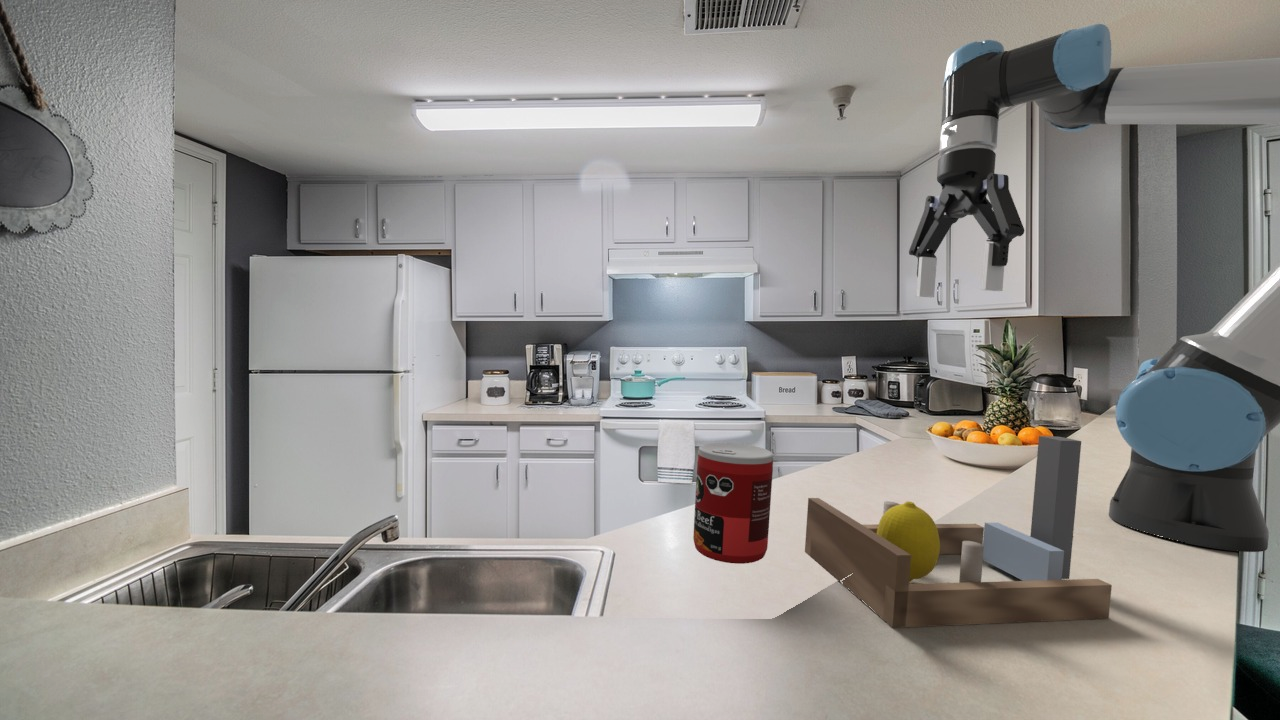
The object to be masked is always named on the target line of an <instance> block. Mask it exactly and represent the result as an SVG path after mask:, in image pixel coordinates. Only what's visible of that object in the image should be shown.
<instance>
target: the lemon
mask: <svg viewBox="0 0 1280 720" xmlns="http://www.w3.org/2000/svg"><path fill="white" fill-rule="evenodd" d="M899 504H900V503H899ZM878 524H879V525H878V529H877V534H878V535H879V536H881V537H883V538H884V539H886V540H887V541H889V542H891V543H892V544H894V545H895V546H897V547H899V548H900V549H902V550H904V551H905V552H907V553H908V554H910V555H911V562H910V576H909V583H910V582H911V581H913V580H918V579H922V578H924V577H926V576H928V575H929V574H930V573H932V571H933V570H934V569H935V567H936V566H937V563H938V561H939V556H940V554H939V552H940V540H939V534H938V530H937V527H936V525H935V524H936V523H935V521H934V519H933V518H932V516H930V514H929V513H928V512H926V510H924V509H923V508H920V507H919V506H916V504H915V503H914V502H912V501H909V500H907V501H905V502H904V503H902V504H900V505H896V506H894V507H892V508H890V509H888V510H887V511H886V512H885V513H884V514H883V513H882V516H881V518H880V520H879V522H878Z"/></svg>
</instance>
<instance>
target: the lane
mask: <svg viewBox="0 0 1280 720" xmlns="http://www.w3.org/2000/svg"><path fill="white" fill-rule="evenodd" d="M896 505H900V503H899V502H895V501H888V500H887V501H884V502H883V510H882V511H883V513H882V515H883V514H884V513H885V512H886V511H887V510H888V509H890V508H892V507H894V506H896ZM806 512H807V513H806V528H805V545H804V553H805V554H806V555H808V556H809V557H810V558H811V559H812V560H814V562H816V563H817V564H818V565H819V566H820V567H822V568H823V570H825V571H826V572H828V574H829V575H831V576H832V577H833V578H834V579H835V580H837V581H838V582H839V581H840V580H842V579H843V578H845V577H847V576H848V575H850V574H852V573H853V574H852V575H851V576H849V577H847V578H845V580H843V581H842V582H843V585H842V586H843V587H845V586H846V587H847V588H849V589H850V590H851V591H852V592H853V593H854V594H855V595H856V596H858V597H859V598H860V599H861V600H863V601H864V602H865V603H866V604H867V605H868V606H870V607H871V608H872V609H873V610H874V611H875V612H876V613H877V614H878V615H879V616H881V617H880V619H882V618H883V619H882V621H884V622H885V621H886V622H887V623H888V624H887V623H886V622H885V623H886V624H887V625H888V626H890V628H894V629H895V627H896V628H913V627H914V628H915V627H916V628H917V627H939V626H940V627H942V626H964V625H967V626H968V625H983V624H984V625H987V624H1009V623H1010V622H1012V623H1030V622H1031V623H1033V622H1034V623H1035V622H1036V623H1037V622H1057V621H1058V622H1059V621H1077V620H1079V621H1081V620H1084V621H1085V620H1100V619H1101V620H1103V619H1105V620H1106V619H1109V617H1110V609H1111V608H1110V607H1111V597H1112V587H1113V586H1112V584H1111V583H1108V582H1105V581H1103V580H1101V579H1099V578H1086V579H1085V578H1081V579H1080V578H1079V579H1077V578H1075V579H1062V580H1037V581H1023V580H1009V581H1005V580H1004V581H982V575H983V574H982V573H983V562H984V560H983V552H984V546H983V537H984V526H981V525H979V524H978V523H935V525H936V527H937V530H938V534H939V540H940V552H939V555H960V554H961V556H960V557H961V558H960V570H959V582H939V583H938V582H937V583H936V582H934V583H910V582H909V576H910V562H911V555H910V554H908V553H907V552H905V551H904V550H902V549H900V548H899V547H897V546H895V545H894V544H892V543H891V542H889V541H887V540H886V539H884V538H883V537H881V536H879V535H878V534H877V529H878V525H879V523H878V524H862V523H860V522H858V521H856V520H855V519H853V518H852V517H850V516H848V515H847V514H845V513H843V512H842V511H841V510H838V509H837V508H836V507H834V506H833V505H831V504H829V503H827V502H826V501H824V500H823V499H821V498H820V497H808V498H807V511H806ZM846 587H845V588H846ZM847 588H846V589H847ZM852 592H851V593H852ZM853 593H852V594H853ZM854 594H853V595H854ZM855 595H854V596H855ZM856 596H855V597H856ZM859 598H858V599H859ZM860 599H859V600H860ZM861 600H860V601H861ZM867 605H866V606H867ZM868 606H867V607H868ZM874 611H873V612H874ZM875 612H874V613H875ZM876 613H875V614H876ZM877 614H876V615H877ZM878 615H877V616H878ZM879 616H878V617H879ZM1008 622H1009V623H1008Z"/></svg>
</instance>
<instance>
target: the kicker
mask: <svg viewBox="0 0 1280 720" xmlns="http://www.w3.org/2000/svg"><path fill="white" fill-rule="evenodd" d="M1081 450H1082V440H1078V439H1073V438H1069V437H1068V438H1067V437H1063V436H1053V435H1051V436H1049V435H1048V436H1047V435H1045V436H1044V435H1038V444H1037V456H1036V465H1035V466H1036V467H1035V480H1034V489H1033V490H1034V492H1033V502H1032V503H1033V504H1032V513H1031V524H1030V525H1031V527H1030V535H1028V534H1025V533H1023V532H1021V531H1019V530H1016V529H1014V528H1012V527H1009V526H1007V525H1004V524H1001V523H1000V522H984V526H983V527H984V533H983V546H984V552H983V561H985V562H987V563H988V564H990V565H992V566H993V567H996V568H998V569H1000V570H1002V571H1004V572H1005V573H1007V574H1009V575H1012V576H1013V577H1015V578H1016V579H1019V580H1020V581H1037V580H1070V574H1071V564H1072V563H1071V562H1072V554H1073V553H1072V552H1073V551H1072V550H1073V541H1074V530H1075V529H1074V527H1075V519H1076V518H1075V517H1076V516H1075V515H1076V507H1077V505H1076V504H1077V494H1078V483H1079V473H1080V471H1079V470H1080V464H1081V461H1080V460H1081Z"/></svg>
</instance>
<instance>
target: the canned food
mask: <svg viewBox="0 0 1280 720" xmlns="http://www.w3.org/2000/svg"><path fill="white" fill-rule="evenodd" d="M773 456H774V454H773V452H772V451H770V450H769V449H766V448H763V447H759V446H756V445H749V444H743V443H729V442H715V443H713V442H712V443H706V444H702V445H700V446H698V451H697V462H696V463H697V464H696V481H695V500H694V504H695V505H694V519H693V537H692V539H693V544H694V548H695V549H696V551H698V553H700V554H701V555H702V556H704V557H706V558H708V559H710V560H713V561H717V562H721V563H727V564H734V565H736V564H737V565H738V564H742V565H743V564H752V563H756V562H759V561H760V560H762V559H764V557H765V556H766V553H767V550H768V545H769V544H768V543H769V533H770V531H769V530H770V529H769V527H770V518H771V517H770V514H771V503H772V502H771V500H772V489H773V488H772V487H773V473H774V471H773V470H774V468H773V466H774V457H773Z"/></svg>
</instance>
